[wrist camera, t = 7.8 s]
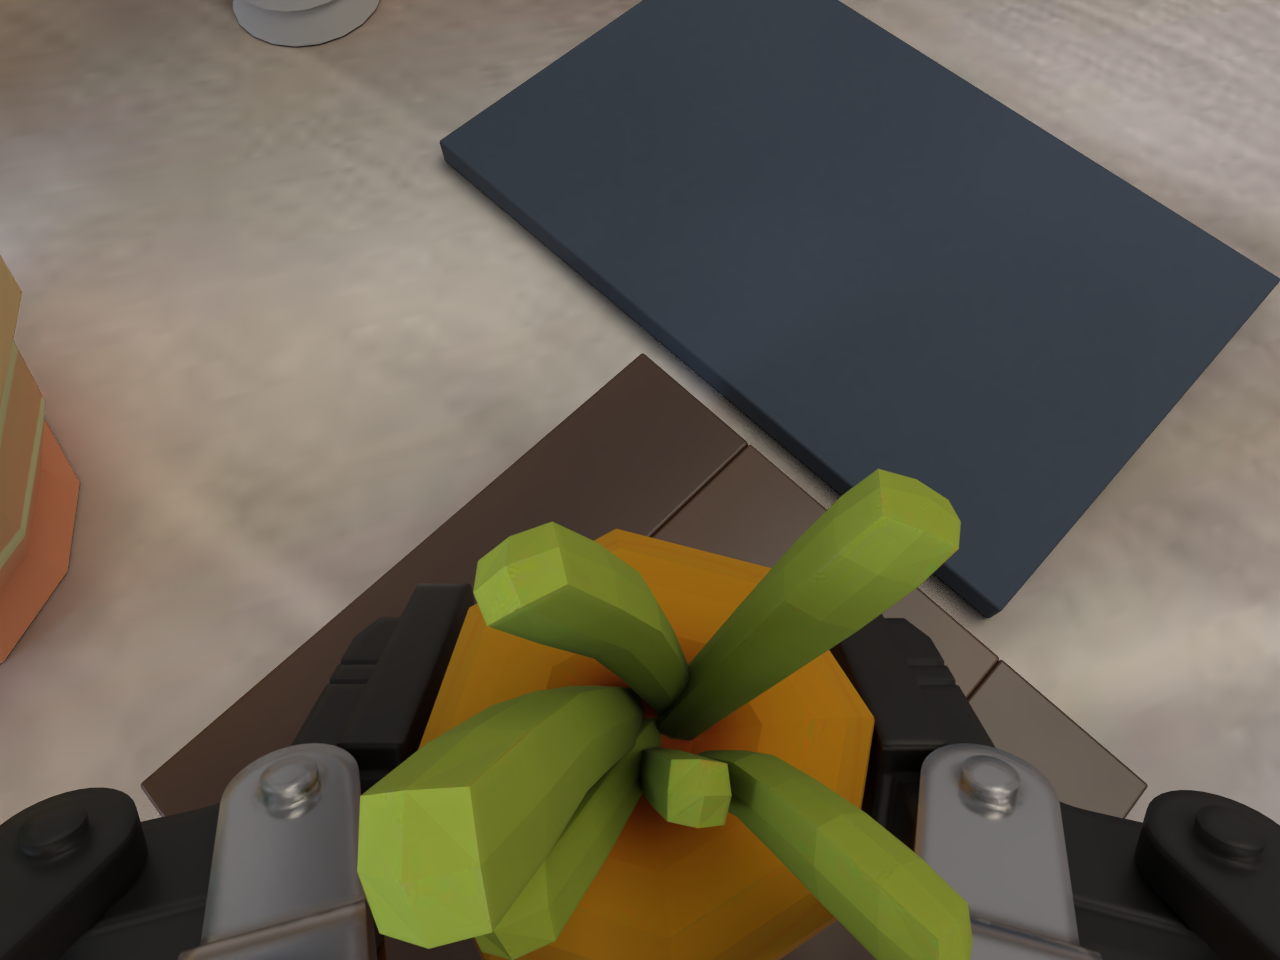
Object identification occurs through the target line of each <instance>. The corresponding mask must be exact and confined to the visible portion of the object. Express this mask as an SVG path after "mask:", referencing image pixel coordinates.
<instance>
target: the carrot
mask: <svg viewBox="0 0 1280 960" xmlns="http://www.w3.org/2000/svg"><path fill="white" fill-rule="evenodd" d="M960 526H961V521H960V519H959V518H958V516H957V514H956V512H955V510H954V509H953V507H952V505H951V503H950V502H949V500H948V499H946V498H945V497H943V496H942V495H940V494H939V493H937V492H936V491H934V490H932V489H931V488H929V487H928V486H926V485H925V484H923V483H922V482H920V481H918V480H917V479H914V478H910V477H907V476H903V475H899V474H896V473H892V472H888V471H885V470H881V469H877V470H876V471H874V472H873V473H872V474H870V475H869V476H868V477H866V478H865V479H863V480H862V481H861V482H859V483H858V484H857V485H855V486H854V487H853V488H851V489H850V490H849V491H847V492H846V493H845V494H843V495H842V496H841V497H840V498H839V499H838V500H837V501H836V502H835V503H834V504H833V505H832V506H831V507H830V508H829V509H828V510H827V511H826V512H825V513H824V514H823V515H822V516H821V517H820V518H819V519H818V520H817V521H816V522H815V523H813V524H812V525H811V526H810V527H809V528H808V529H807V530H806V531H805V532H804V533H803V534H802V535H801V536H800V537H799V538H798V539H797V540H796V541H795V542H794V544H793V545H792V546H791V547H790V548H789V549H788V550H787V552H786V553H785V554H784V555H783V556H782V557H781V558H780V560H779V561H778V562H777V563H776V564H775V565H774V566H773V567H772V568H769V567H765V566H761V565H757V564H753V563H749V562H745V561H741V560H737V559H734V558H730V557H726V556H722V555H718V554H714V553H710V552H706V551H702V550H698V549H694V548H690V547H686V546H683V545H679V544H675V543H671V542H667V541H663V540H659V539H655V538H651V537H647V536H643V535H639V534H635V533H631V532H628V531H624V530H620V529H615V530H613V531H611V532H609V533H607V534H605V535H603V536H602V537H600V538H598V539H596V540H594V541H593V540H591V539H589V538H587V537H584V536H582V535H580V534H578V533H576V532H574V531H572V530H570V529H567V528H565V527H563V526H561V525H559V524H557V523H555V522H550V523H547V524H544V525H541V526H538V527H535V528H532V529H529V530H526V531H524V532H521V533H518V534H515V535H512V536H509V537H508V538H507V539H506V540H504V541H503V542H502V543H500V544H499V545H498V546H497V547H495V548H494V549H493V550H491V551H490V552H489V553H488V554H486V555H485V556H484V557H482V558H481V559H480V560H479V561H478V564H477V570H476V577H475V584H474V590H473V593H474V596H475V598H476V601H477V604H475V605H473V606H471V607H470V608H469V609H468V612H467V615H466V617H465V620H464V623H463V626H462V629H461V631H460V634H459V637H458V640H457V643H456V645H455V648H454V651H453V654H452V656H451V659H450V662H449V665H448V668H447V670H446V673H445V676H444V679H443V682H442V684H441V687H440V690H439V693H438V696H437V698H436V701H435V704H434V707H433V710H432V712H431V715H430V718H429V721H428V723H427V726H426V729H425V732H424V735H423V737H422V740H421V743H420V746H419V749H418V751H416V752H415V753H414V754H412V755H411V756H410V757H409V758H407V759H406V760H405V761H404V762H402V763H401V764H400V765H399V766H397V767H396V768H395V769H394V770H392V771H391V772H390V773H389V774H387V775H386V776H385V777H384V778H382V779H381V780H380V781H379V782H377V783H376V784H375V785H374V786H372V787H371V788H370V789H369V790H367V791H366V792H365V793H363V794H362V795H361V796H360V814H359V839H358V863H357V872H358V875H359V878H360V881H361V883H362V886H363V889H364V892H365V894H366V897H367V900H368V903H369V906H370V908H371V911H372V914H373V917H374V920H375V922H376V925H377V928H378V931H379V933H380V934H383V935H386V936H389V937H392V938H396V939H399V940H402V941H405V942H408V943H412V944H415V945H418V946H421V947H424V948H428V949H430V948H434V947H438V946H442V945H445V944H449V943H453V942H457V941H461V940H465V939H469V938H473V940H474V943H475V945H476V947H477V949H478V952H479V954H480V956H481V959H482V960H780V959H781V958H783V957H784V956H786V955H787V954H789V953H790V952H792V951H793V950H794V949H796V948H797V947H799V946H800V945H802V944H803V943H805V942H806V941H808V940H809V939H810V938H812V937H813V936H815V935H816V934H818V933H819V932H821V931H822V930H824V929H825V928H826V927H828V926H829V925H831V924H832V923H834V922H835V921H837V920H838V921H839V922H840V923H841V924H842V925H843V926H844V927H845V928H846V929H847V930H848V931H849V932H850V933H851V934H852V935H853V936H854V937H855V938H856V939H857V940H858V941H859V942H860V943H861V944H862V945H863V946H864V947H865V949H866V950H867V951H868V952H869V953H870V954H871V955H872V956H873V957H874V958H875V959H876V960H970V956H971V950H972V944H973V937H972V930H971V922H970V915H969V907H968V903H967V902H966V901H965V900H964V899H963V898H962V897H961V896H960V895H959V894H958V893H957V892H956V891H955V890H954V889H953V888H952V887H951V886H950V885H949V884H948V883H947V882H946V881H945V880H943V879H942V878H941V877H940V876H939V875H938V874H937V873H936V872H935V871H934V870H933V869H932V868H931V867H930V866H929V865H928V864H927V863H926V862H925V861H924V860H923V859H922V858H921V857H920V856H918V855H917V854H916V853H915V852H913V851H912V850H911V849H910V848H908V847H907V846H906V845H905V844H903V843H902V842H901V841H900V840H899V839H897V838H896V837H895V836H894V835H892V834H891V833H890V832H889V831H887V830H886V829H885V828H884V827H883V826H881V825H880V824H879V823H878V822H876V821H875V820H874V819H873V818H871V817H870V816H869V815H868V814H867V813H865V812H864V811H862V810H861V809H862V802H863V795H864V789H865V782H866V776H867V769H868V762H869V756H870V749H871V743H872V736H873V729H874V723H875V719H874V716H873V715H872V713H871V712H870V710H869V709H868V707H867V706H866V704H865V703H864V701H863V700H862V698H861V697H860V695H859V694H858V692H857V691H856V689H855V688H854V686H853V685H852V683H851V682H850V680H849V679H848V677H847V676H846V674H845V673H844V671H843V670H842V668H841V667H840V665H839V664H838V662H837V661H836V659H835V658H834V656H833V655H832V653H831V652H830V650H829V649H831V648H832V647H834V646H835V645H837V644H839V643H840V642H842V641H843V640H845V639H846V638H848V637H849V636H851V635H852V634H854V633H855V632H857V631H858V630H860V629H861V628H862V627H864V626H865V625H867V624H868V623H869V622H871V621H872V620H873V619H875V618H876V617H878V616H879V615H880V614H882V613H883V612H884V611H886V610H887V609H889V608H890V607H891V606H893V605H894V604H895V603H897V602H898V601H899V600H901V599H902V598H904V597H905V596H906V595H908V594H909V593H910V592H912V591H913V590H915V589H916V588H917V587H919V586H920V585H921V584H922V583H923V582H924V581H925V580H926V579H927V578H928V577H929V576H930V575H931V574H932V573H934V572H935V571H936V570H937V569H938V568H939V567H940V566H941V565H942V564H943V563H944V562H945V561H946V560H947V559H948V558H950V557H951V556H952V555H953V554H954V553H955V552H956V551H957V550H958V549H959V539H960Z"/></svg>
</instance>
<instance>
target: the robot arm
mask: <svg viewBox="0 0 1280 960" xmlns="http://www.w3.org/2000/svg"><path fill="white" fill-rule="evenodd" d="M473 605H475V604H474V595H473V590H472V587H471V585H470V584H418V585H417V586H416V588H415V590H414V592H413V594H412V596H411V598H410V600H409V602H408V604H407V605H406V607H405V609H404V611H403V613H402V615H401V617H380V618H379V619H377V620H376V621H375V622H373V623H372V624H371V625H369V626H368V627H367V628H365V629H364V630H363V631H361V632H360V633H359V634H358V635H356V636H355V637H354V638H353V640H352V642H351V643H350V645H349V647H348V648H347V650H346V652H345V654H344V655H343V657H342V659H341V664H340V665H338V666H337V667H336V669H335V671H334V672H333V674H332V676H331V677H330V682H329V684H326V686H325V688H324V689H323V691H322V693H321V695H320V696H319V698H318V700H317V701H316V703H315V705H314V707H313V708H312V710H311V712H310V713H309V715H308V717H307V718H306V720H305V722H304V724H303V725H302V727H301V729H300V730H299V732H298V734H297V736H296V737H295V739H294V741H293V742H292V744H291V746H290V747H286V748H282V749H279V750H277V751H274V752H271V753H269V754H267V755H265V756H263V757H261V758H259V759H257V760H255V761H254V762H252V763H250V764H249V765H248V766H246V767H245V768H244V769H242V770H241V771H240V772H239V773H238V774H237V775H236V776H235V777H234V778H233V779H232V780H231V782H230V783H229V784H228V785H227V787H226V789H225V791H224V793H223V795H222V799H221V802H220V803H217V804H215V805H211V806H207V807H204V808H200V809H196V810H191V811H187V812H183V813H178V814H174V815H169V816H165V817H161V818H156V819H152V820H148V821H143V822H140V819H139V815H138V812H137V808H136V806H135V803H134V801H133V800H132V799H131V798H130V796H129V795H127V794H125V793H123V792H122V791H118V790H115V789H110V788H87V789H79V790H75V791H70V792H66V793H63V794H59V795H56V796H53V797H50V798H48V799H45V800H43V801H41V802H38V803H36V804H34V805H32V806H30V807H28V808H26V809H24V810H23V811H21V812H19V813H18V814H16V815H14V816H13V817H11V818H10V819H8V820H7V821H6V822H4V823H3V824H1V825H0V960H388V951H387V945H386V939H385V935H383V934H380V933H379V931H378V928H377V925H376V922H375V920H374V917H373V914H372V911H371V908H370V906H369V903H368V900H367V897H366V894H365V892H364V889H363V886H362V883H361V881H360V878H359V875H358V872H357V863H358V839H359V814H360V796H361V795H362V794H363V793H365V792H366V791H367V790H369V789H370V788H371V787H372V786H374V785H375V784H376V783H377V782H379V781H380V780H381V779H382V778H384V777H385V776H386V775H387V774H389V773H390V772H391V771H392V770H394V769H395V768H396V767H397V766H399V765H400V764H401V763H402V762H404V761H405V760H406V759H407V758H409V757H410V756H411V755H412V754H414V753H415V752H416V751H418V749H419V746H420V743H421V740H422V737H423V735H424V732H425V729H426V726H427V723H428V721H429V718H430V715H431V712H432V710H433V707H434V704H435V701H436V698H437V696H438V693H439V690H440V687H441V684H442V682H443V679H444V676H445V673H446V670H447V668H448V665H449V662H450V659H451V656H452V654H453V651H454V648H455V645H456V643H457V640H458V637H459V634H460V631H461V629H462V626H463V623H464V620H465V617H466V615H467V612H468V609H469V608H470V607H471V606H473ZM829 650H830V652H831V653H832V655H833V656H834V658H835V659H836V661H837V662H838V664H839V665H840V667H841V668H842V670H843V671H844V673H845V674H846V676H847V677H848V679H849V680H850V682H851V683H852V685H853V686H854V688H855V689H856V691H857V692H858V694H859V695H860V697H861V698H862V700H863V701H864V703H865V704H866V706H867V707H868V709H869V710H870V712H871V713H872V715H873V716H874V719H875V723H874V729H873V736H872V743H871V749H870V756H869V762H868V769H867V776H866V782H865V789H864V795H863V802H862V809H861V810H862V811H864V812H865V813H867V814H868V815H869V816H870V817H871V818H873V819H874V820H875V821H876V822H878V823H879V824H880V825H881V826H883V827H884V828H885V829H886V830H887V831H889V832H890V833H891V834H892V835H894V836H895V837H896V838H897V839H899V840H900V841H901V842H902V843H903V844H905V845H906V846H907V847H908V848H910V849H911V850H912V851H913V852H915V853H916V854H917V855H918V856H920V857H921V858H922V859H923V860H924V861H925V862H926V863H927V864H928V865H929V866H930V867H931V868H932V869H933V870H934V871H935V872H936V873H937V874H938V875H939V876H940V877H941V878H942V879H943V880H945V881H946V882H947V883H948V884H949V885H950V886H951V887H952V888H953V889H954V890H955V891H956V892H957V893H958V894H959V895H960V896H961V897H962V898H963V899H964V900H965V901H966V902H967V903H968V907H969V915H970V922H971V930H972V937H973V944H972V950H971V956H970V960H1280V825H1278V824H1277V823H1275V822H1274V821H1273V820H1271V819H1270V818H1268V817H1266V816H1265V815H1263V814H1261V813H1260V812H1258V811H1256V810H1254V809H1252V808H1250V807H1248V806H1246V805H1244V804H1241V803H1239V802H1236V801H1234V800H1231V799H1228V798H1225V797H1222V796H1219V795H1215V794H1211V793H1206V792H1200V791H1192V790H1178V791H1170V792H1166V793H1163V794H1160V795H1159V796H1157V797H1155V798H1154V799H1153V800H1152V801H1151V802H1150V803H1149V806H1148V808H1147V811H1146V814H1145V818H1144V821H1143V823H1141V822H1137V821H1132V820H1128V819H1124V818H1119V817H1115V816H1111V815H1106V814H1102V813H1097V812H1093V811H1089V810H1085V809H1081V808H1077V807H1074V806H1071V805H1068V804H1065V803H1063V802H1060V801H1059V799H1058V795H1057V793H1056V791H1055V789H1054V787H1053V785H1052V784H1051V783H1050V782H1049V780H1048V779H1047V778H1046V777H1045V776H1044V775H1043V774H1042V773H1041V772H1040V771H1039V770H1038V769H1036V768H1035V767H1034V766H1032V765H1031V764H1030V763H1028V762H1026V761H1025V760H1023V759H1021V758H1019V757H1017V756H1015V755H1013V754H1011V753H1009V752H1006V751H1003V750H1001V749H998V748H996V747H995V746H994V744H993V742H992V740H991V739H990V737H989V735H988V734H987V732H986V730H985V729H984V727H983V725H982V724H981V722H980V720H979V719H978V717H977V715H976V714H975V712H974V710H973V708H972V707H971V705H970V703H969V702H968V700H967V698H966V697H965V695H964V693H963V692H962V690H961V688H960V687H959V685H956V680H955V678H954V676H953V675H952V673H951V671H950V670H949V668H948V666H945V665H944V660H943V658H942V656H941V655H940V653H939V651H938V650H937V648H936V646H935V644H934V643H933V641H932V639H931V638H930V637H929V636H927V635H926V634H925V633H923V632H922V631H921V630H919V629H918V628H917V627H915V626H914V625H913V624H912V623H910V622H909V621H908V620H906V619H905V618H884V617H883V615H882V614H880V615H879V616H878V617H876V618H875V619H873V620H872V621H871V622H869V623H868V624H867V625H865V626H864V627H862V628H861V629H860V630H858V631H857V632H855V633H854V634H852V635H851V636H849V637H848V638H846V639H845V640H843V641H842V642H840V643H839V644H837V645H835V646H834V647H832V648H831V649H829Z"/></svg>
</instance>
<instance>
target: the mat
mask: <svg viewBox="0 0 1280 960" xmlns="http://www.w3.org/2000/svg"><path fill="white" fill-rule="evenodd" d="M440 145H441V148H442V152H443V155H444V159H445V161H446V162H447V163H449V164H450V165H451V166H452V167H453V168H455V169H456V170H457V171H458V172H459V173H460V174H462V175H463V176H464V177H465V178H466V179H468V180H469V181H470V182H471V183H472V184H473V185H475V186H476V187H477V188H478V189H479V190H481V191H482V192H483V193H484V194H485V195H486V196H488V197H489V198H490V199H491V200H492V201H494V202H495V203H496V204H497V205H498V206H500V207H501V208H502V209H503V210H504V211H505V212H507V213H508V214H509V215H510V216H511V217H513V218H514V219H515V220H516V221H517V222H518V223H520V224H521V225H522V226H523V227H524V228H526V229H527V230H528V231H529V232H530V233H531V234H533V235H534V236H535V237H536V238H537V239H539V240H540V241H541V242H542V243H543V244H544V245H546V246H547V247H548V248H549V249H550V250H552V251H553V252H554V253H555V254H556V255H558V256H559V257H560V258H561V259H562V260H563V261H565V262H566V263H567V264H568V265H569V266H571V267H572V268H573V269H574V270H575V271H576V272H578V273H579V274H580V275H581V276H582V277H584V278H585V279H586V280H587V281H588V282H589V283H591V284H592V285H593V286H594V287H595V288H597V289H598V290H599V291H600V292H601V293H602V294H604V295H605V296H606V297H607V298H608V299H610V300H611V301H612V302H613V303H614V304H615V305H617V306H618V307H619V308H620V309H621V310H623V311H624V312H625V313H626V314H627V315H629V316H630V317H631V318H632V319H633V320H634V321H636V322H637V323H638V324H639V325H640V326H642V327H643V328H644V329H645V330H646V331H647V332H649V333H650V334H651V335H652V336H653V337H655V338H656V339H657V340H658V341H659V342H660V343H662V344H663V345H664V346H665V347H666V348H668V349H669V350H670V351H671V352H672V353H673V354H675V355H676V356H677V357H678V358H679V359H681V360H682V361H683V362H684V363H685V364H687V365H688V366H689V367H690V368H691V369H692V370H694V371H695V372H696V373H697V374H698V375H700V376H701V377H702V378H703V379H704V380H705V381H707V382H708V383H709V384H710V385H711V386H713V387H714V388H715V389H716V390H717V391H718V392H720V393H721V394H722V395H723V396H724V397H726V398H727V399H728V400H729V401H730V402H731V403H733V404H734V405H735V406H736V407H737V408H739V409H740V410H741V411H742V412H743V413H745V414H746V415H747V416H748V417H749V418H750V419H752V420H753V421H754V422H755V423H756V424H758V425H759V426H760V427H761V428H762V429H763V430H765V431H766V432H767V433H768V434H769V435H771V436H772V437H773V438H774V439H775V440H776V441H778V442H779V443H780V444H781V445H782V446H784V447H785V448H786V449H787V450H788V451H789V452H791V453H792V454H793V455H794V456H795V457H797V458H798V459H799V460H800V461H801V462H803V463H804V464H805V465H806V466H807V467H808V468H810V469H811V470H812V471H813V472H814V473H816V474H817V475H818V476H819V477H820V478H821V479H823V480H824V481H825V482H826V483H827V484H829V485H830V486H831V487H832V488H833V489H834V490H836V491H837V492H838V493H839V494H840V495H843V494H845V493H846V492H847V491H849V490H850V489H851V488H853V487H854V486H855V485H857V484H858V483H859V482H861V481H862V480H863V479H865V478H866V477H868V476H869V475H870V474H872V473H873V472H874V471H876V470H877V469H881V470H885V471H888V472H892V473H896V474H899V475H903V476H907V477H910V478H914V479H917V480H918V481H920V482H922V483H923V484H925V485H926V486H928V487H929V488H931V489H932V490H934V491H936V492H937V493H939V494H940V495H942V496H943V497H945V498H946V499H948V500H949V502H950V503H951V505H952V507H953V509H954V510H955V512H956V514H957V516H958V518H959V519H960V521H961V526H960V539H959V549H958V550H957V551H956V552H955V553H954V554H953V555H952V556H951V557H950V558H948V559H947V560H946V561H945V562H944V563H943V564H942V565H941V566H940V567H939V568H938V569H937V570H936V571H935V572H934V574H935V575H936V576H937V577H939V578H940V579H941V580H942V581H943V582H945V583H946V584H947V585H948V586H949V587H950V588H952V589H953V590H954V591H955V592H956V593H958V594H959V595H960V596H961V597H962V598H963V599H965V600H966V601H967V602H968V603H969V604H971V605H972V606H973V607H974V608H975V609H976V610H978V611H979V612H980V613H981V614H982V615H984V616H985V617H986V618H990V617H992V616H994V615H995V614H997V613H998V612H1000V611H1002V609H1003V608H1004V607H1005V606H1006V605H1007V604H1008V602H1009V601H1010V600H1011V599H1012V598H1013V596H1014V595H1015V594H1016V593H1017V592H1018V590H1019V589H1020V588H1021V587H1022V586H1023V585H1024V583H1025V582H1026V581H1027V580H1028V579H1029V577H1030V576H1031V575H1032V574H1033V573H1034V572H1035V570H1036V569H1037V568H1038V567H1039V566H1040V564H1041V563H1042V562H1043V561H1044V560H1045V559H1046V557H1047V556H1048V555H1049V554H1050V553H1051V551H1052V550H1053V549H1054V548H1055V547H1056V545H1057V544H1058V543H1059V542H1060V541H1061V540H1062V538H1063V537H1064V536H1065V535H1066V534H1067V532H1068V531H1069V530H1070V529H1071V528H1072V527H1073V525H1074V524H1075V523H1076V522H1077V521H1078V519H1079V518H1080V517H1081V516H1082V515H1083V514H1084V512H1085V511H1086V510H1087V509H1088V508H1089V506H1090V505H1091V504H1092V503H1093V502H1094V500H1095V499H1096V498H1097V497H1098V496H1099V495H1100V493H1101V492H1102V491H1103V490H1104V489H1105V487H1106V486H1107V485H1108V484H1109V483H1110V482H1111V480H1112V479H1113V478H1114V477H1115V476H1116V474H1117V473H1118V472H1119V471H1120V470H1121V469H1122V467H1123V466H1124V465H1125V464H1126V463H1127V461H1128V460H1129V459H1130V458H1131V457H1132V455H1133V454H1134V453H1135V452H1136V451H1137V450H1138V448H1139V447H1140V446H1141V445H1142V444H1143V442H1144V441H1145V440H1146V439H1147V438H1148V437H1149V435H1150V434H1151V433H1152V432H1153V431H1154V429H1155V428H1156V427H1157V426H1158V425H1159V424H1160V422H1161V421H1162V420H1163V419H1164V418H1165V416H1166V415H1167V414H1168V413H1169V412H1170V411H1171V409H1172V408H1173V407H1174V406H1175V405H1176V403H1177V402H1178V401H1179V400H1180V399H1181V397H1182V396H1183V395H1184V394H1185V393H1186V392H1187V390H1188V389H1189V388H1190V387H1191V386H1192V384H1193V383H1194V382H1195V381H1196V380H1197V379H1198V377H1199V376H1200V375H1201V374H1202V373H1203V371H1204V370H1205V369H1206V368H1207V367H1208V366H1209V364H1210V363H1211V362H1212V361H1213V360H1214V358H1215V357H1216V356H1217V355H1218V354H1219V352H1220V351H1221V350H1222V349H1223V348H1224V347H1225V345H1226V344H1227V343H1228V342H1229V341H1230V339H1231V338H1232V337H1233V336H1234V335H1235V334H1236V332H1237V331H1238V330H1239V329H1240V328H1241V326H1242V325H1243V324H1244V323H1245V322H1246V321H1247V319H1248V318H1249V317H1250V316H1251V315H1252V313H1253V312H1254V311H1255V310H1256V309H1257V307H1258V306H1259V305H1260V304H1261V303H1262V302H1263V300H1264V299H1265V298H1266V297H1267V296H1268V294H1269V293H1270V292H1271V291H1272V290H1273V289H1274V287H1275V286H1276V285H1277V284H1278V283H1279V281H1280V279H1279V278H1278V277H1277V276H1275V275H1273V274H1272V273H1270V272H1269V271H1267V270H1265V269H1264V268H1262V267H1261V266H1259V265H1258V264H1256V263H1254V262H1253V261H1251V260H1250V259H1248V258H1246V257H1245V256H1243V255H1242V254H1240V253H1238V252H1237V251H1235V250H1234V249H1232V248H1231V247H1229V246H1227V245H1226V244H1224V243H1223V242H1221V241H1219V240H1218V239H1216V238H1215V237H1213V236H1211V235H1210V234H1208V233H1207V232H1205V231H1204V230H1202V229H1200V228H1199V227H1197V226H1196V225H1194V224H1192V223H1191V222H1189V221H1188V220H1186V219H1184V218H1183V217H1181V216H1180V215H1178V214H1177V213H1175V212H1173V211H1172V210H1170V209H1169V208H1167V207H1165V206H1164V205H1162V204H1161V203H1159V202H1157V201H1156V200H1154V199H1153V198H1151V197H1150V196H1148V195H1146V194H1145V193H1143V192H1142V191H1140V190H1138V189H1137V188H1135V187H1134V186H1132V185H1130V184H1129V183H1127V182H1126V181H1124V180H1123V179H1121V178H1119V177H1118V176H1116V175H1115V174H1113V173H1111V172H1110V171H1108V170H1107V169H1105V168H1104V167H1102V166H1100V165H1099V164H1097V163H1096V162H1094V161H1092V160H1091V159H1089V158H1088V157H1086V156H1084V155H1083V154H1081V153H1080V152H1078V151H1077V150H1075V149H1073V148H1072V147H1070V146H1069V145H1067V144H1065V143H1064V142H1062V141H1061V140H1059V139H1057V138H1056V137H1054V136H1053V135H1051V134H1050V133H1048V132H1046V131H1045V130H1043V129H1042V128H1040V127H1038V126H1037V125H1035V124H1034V123H1032V122H1030V121H1029V120H1027V119H1026V118H1024V117H1023V116H1021V115H1019V114H1018V113H1016V112H1015V111H1013V110H1011V109H1010V108H1008V107H1007V106H1005V105H1003V104H1002V103H1000V102H999V101H997V100H996V99H994V98H992V97H991V96H989V95H988V94H986V93H984V92H983V91H981V90H980V89H978V88H976V87H975V86H973V85H972V84H970V83H969V82H967V81H965V80H964V79H962V78H961V77H959V76H957V75H956V74H954V73H953V72H951V71H949V70H948V69H946V68H945V67H943V66H942V65H940V64H938V63H937V62H935V61H934V60H932V59H930V58H929V57H927V56H926V55H924V54H922V53H921V52H919V51H918V50H916V49H915V48H913V47H911V46H910V45H908V44H907V43H905V42H903V41H902V40H900V39H899V38H897V37H895V36H894V35H892V34H891V33H889V32H888V31H886V30H884V29H883V28H881V27H880V26H878V25H876V24H875V23H873V22H872V21H870V20H868V19H867V18H865V17H864V16H862V15H861V14H859V13H857V12H856V11H854V10H853V9H851V8H849V7H848V6H846V5H845V4H843V3H841V2H840V1H838V0H643V1H641V2H640V3H639V4H637V5H636V6H634V7H633V8H631V9H630V10H628V11H627V12H626V13H624V14H623V15H621V16H620V17H618V18H617V19H615V20H614V21H613V22H611V23H610V24H608V25H607V26H605V27H604V28H602V29H601V30H600V31H598V32H597V33H595V34H594V35H592V36H591V37H589V38H588V39H587V40H585V41H584V42H582V43H581V44H579V45H578V46H576V47H575V48H574V49H572V50H571V51H569V52H568V53H566V54H565V55H563V56H562V57H560V58H559V59H558V60H556V61H555V62H553V63H552V64H550V65H549V66H547V67H546V68H545V69H543V70H542V71H540V72H539V73H537V74H536V75H534V76H533V77H532V78H530V79H529V80H527V81H526V82H524V83H523V84H521V85H520V86H519V87H517V88H516V89H514V90H513V91H511V92H510V93H508V94H507V95H506V96H504V97H503V98H501V99H500V100H498V101H497V102H495V103H494V104H493V105H491V106H490V107H488V108H487V109H485V110H484V111H482V112H481V113H480V114H478V115H477V116H475V117H474V118H472V119H471V120H469V121H468V122H467V123H465V124H464V125H462V126H461V127H459V128H458V129H456V130H455V131H453V132H452V133H451V134H449V135H448V136H446V137H445V138H443V139H442V140H441V141H440Z"/></svg>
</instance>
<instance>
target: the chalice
mask: <svg viewBox="0 0 1280 960" xmlns="http://www.w3.org/2000/svg"><path fill="white" fill-rule="evenodd" d="M379 1H380V0H233V11H234V13H235V16H236V18H237V20H238V22H239V24H240V25H241V26H242V27H243V28H244V29H246V30H247V31H248V32H249V33H250V34H251V35H252V36H254V37H257V38H259V39H262V40H264V41H267V42H269V43H272V44H278V45H287V46H304V45H313V44H321V43H324V42H327V41H330V40H333V39H336V38H339V37H341V36H344V35H345V34H347V33H349V32H350V31H352V30H353V29H355V28H357V27H358V26H360V25H361V24H363V23H364V22H365V21H366V19H367V18H368V17H369V16H370V15H371V14H372V13H373V12H374V11H375V10H376V8H377V5H378V3H379Z"/></svg>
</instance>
